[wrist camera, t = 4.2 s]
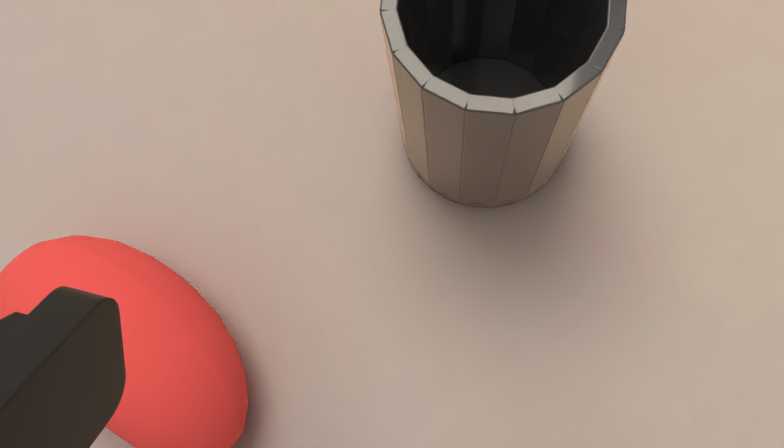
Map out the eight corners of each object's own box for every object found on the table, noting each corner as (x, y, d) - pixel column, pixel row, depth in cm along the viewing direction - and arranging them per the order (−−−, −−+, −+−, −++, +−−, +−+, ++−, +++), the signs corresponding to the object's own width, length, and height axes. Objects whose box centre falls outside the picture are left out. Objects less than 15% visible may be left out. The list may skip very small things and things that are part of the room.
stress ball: (181, 210, 28) (21, 169, 23) (311, 369, 23) (144, 362, 18) (115, 316, 29) (-51, 300, 24) (226, 490, 24) (45, 516, 19)
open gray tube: (602, 140, 26) (680, 13, 17) (472, 241, 26) (484, 162, 17) (496, 23, 28) (518, -150, 19) (370, 117, 27) (333, -16, 18)
